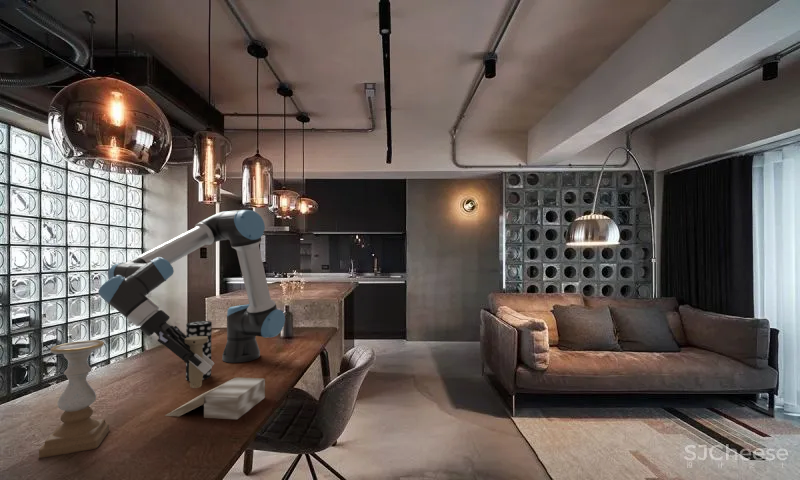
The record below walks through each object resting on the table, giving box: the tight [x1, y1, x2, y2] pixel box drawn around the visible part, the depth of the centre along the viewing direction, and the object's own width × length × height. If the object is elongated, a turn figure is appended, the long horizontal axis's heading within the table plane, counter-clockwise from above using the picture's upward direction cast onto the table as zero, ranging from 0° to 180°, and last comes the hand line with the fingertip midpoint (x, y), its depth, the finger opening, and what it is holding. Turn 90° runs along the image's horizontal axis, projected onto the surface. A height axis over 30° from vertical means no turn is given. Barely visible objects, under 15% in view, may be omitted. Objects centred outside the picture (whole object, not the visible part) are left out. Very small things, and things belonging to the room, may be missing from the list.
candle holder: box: [38, 339, 110, 459], centre depth 95 cm, size 11×11×24 cm
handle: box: [185, 336, 208, 389], centre depth 119 cm, size 5×6×15 cm
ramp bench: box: [164, 377, 266, 420], centre depth 117 cm, size 16×22×8 cm
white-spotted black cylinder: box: [185, 320, 213, 382], centre depth 144 cm, size 8×8×20 cm
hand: (209, 368), depth 120 cm, fingers closed on handle, 4 cm apart
